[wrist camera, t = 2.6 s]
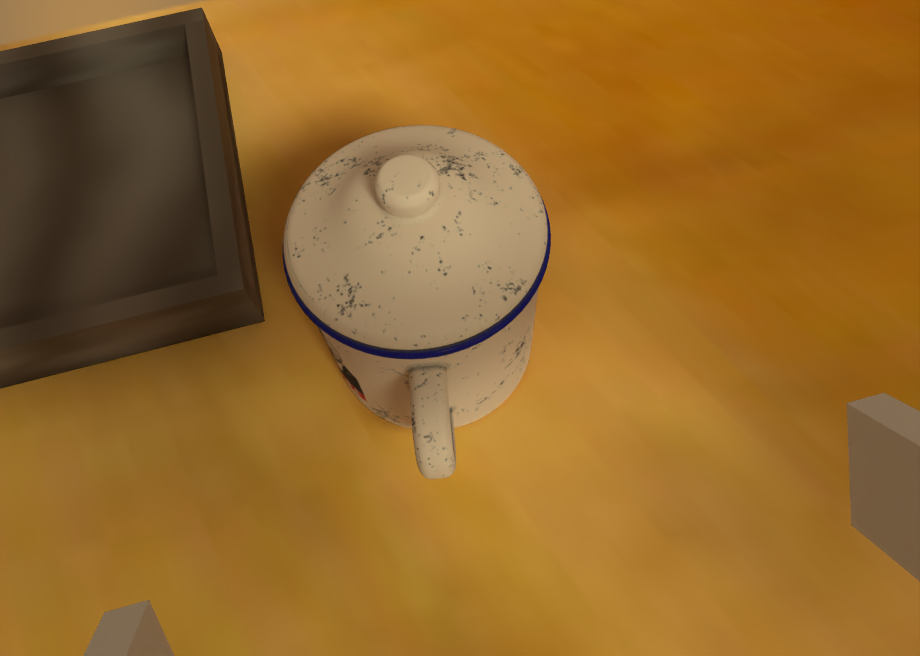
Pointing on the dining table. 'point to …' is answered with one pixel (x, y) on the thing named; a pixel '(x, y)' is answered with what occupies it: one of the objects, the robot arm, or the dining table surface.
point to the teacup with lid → (421, 276)
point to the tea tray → (119, 198)
